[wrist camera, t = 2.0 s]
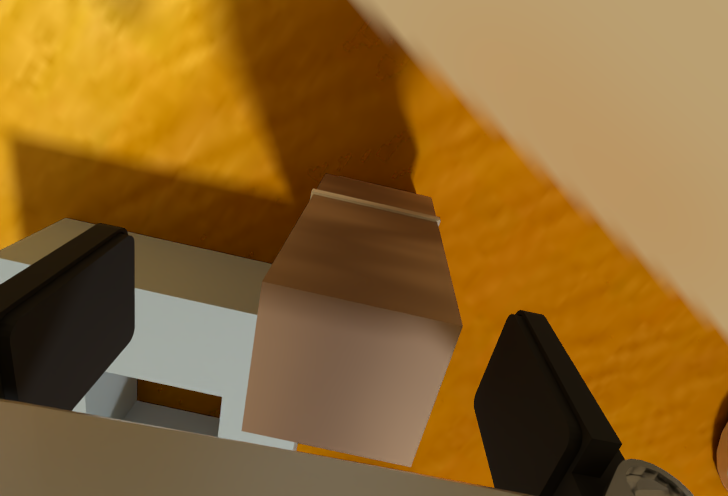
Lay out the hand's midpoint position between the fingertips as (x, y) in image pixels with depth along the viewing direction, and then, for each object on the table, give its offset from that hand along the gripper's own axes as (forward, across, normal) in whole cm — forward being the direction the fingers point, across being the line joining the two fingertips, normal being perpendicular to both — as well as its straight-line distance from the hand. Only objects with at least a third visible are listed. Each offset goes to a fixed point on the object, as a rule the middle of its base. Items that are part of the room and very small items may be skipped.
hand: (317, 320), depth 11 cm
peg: (+8, -1, 0) cm, 8 cm away
